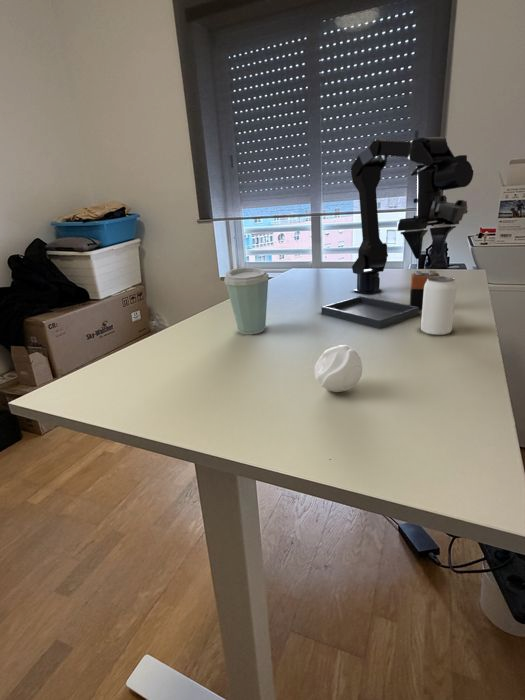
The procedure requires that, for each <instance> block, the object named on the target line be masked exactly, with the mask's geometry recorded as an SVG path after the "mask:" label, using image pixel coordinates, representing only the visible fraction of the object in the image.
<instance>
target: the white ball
mask: <svg viewBox="0 0 525 700" xmlns="http://www.w3.org/2000/svg"><path fill="white" fill-rule="evenodd" d="M313 369H314V378H315V380H316V381H317V382H318V384H319V385H320V386H321V388H324V389H325V390H327V391H330V392H333V393H339V392H341V393H342V392H347V391H350V390H351V389H353V388H354V387H355V386H356V385H357V384H358V383H359V381H360V379H361V377H362V375H363V363H362V359H361V356H360V355H359V353H358V352H357V350H356V349H355V348H353V347H352V346H350V345H347V344H340V345H335V346H332V347H330V348H328V349H326V350H324V351H323V352H322V354H321V355H320V357H319V358H318V359H317V361H316V363H315V365H314V367H313Z"/></svg>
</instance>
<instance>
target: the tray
mask: <svg viewBox="0 0 525 700" xmlns="http://www.w3.org/2000/svg"><path fill="white" fill-rule="evenodd" d="M320 307H321V308H320V309H321V314H322V315H324V316H325V315H326V316H329V317H332V318H337V319H341V320H345V321H348V322H352V323H356V324H359V325H360V324H361V325H365V326H368V327H371V328H376V329H379V330H380V329H382V328H385V327H389V326H391V325H395V324H396V323H400V322H403V321H405V320H408V319H410V318H413V317H416V316H418V315H419V314H420V310H419V307H415V306H410V304H403V303H399V302H393V301H388V300H383V299H378V298H373V297H369V296H361V295H358V296H355V297H351V298H347V299H344V300H340V301H336V302H333V303H330V304H326V305H323V306H320Z"/></svg>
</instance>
